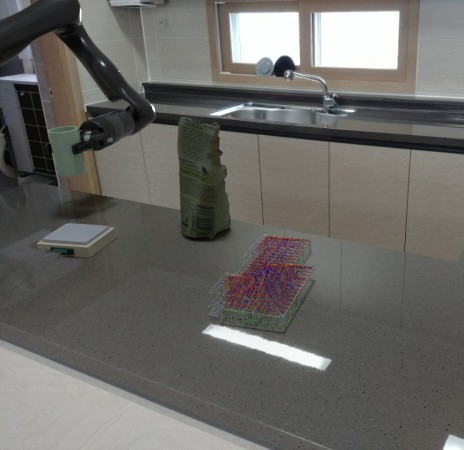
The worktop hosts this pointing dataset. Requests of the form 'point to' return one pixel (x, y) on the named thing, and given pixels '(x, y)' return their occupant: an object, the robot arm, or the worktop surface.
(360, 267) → the worktop surface
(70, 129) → the cup
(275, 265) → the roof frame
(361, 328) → the worktop surface
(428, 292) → the worktop surface
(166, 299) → the worktop surface
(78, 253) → the scale
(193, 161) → the pouch
